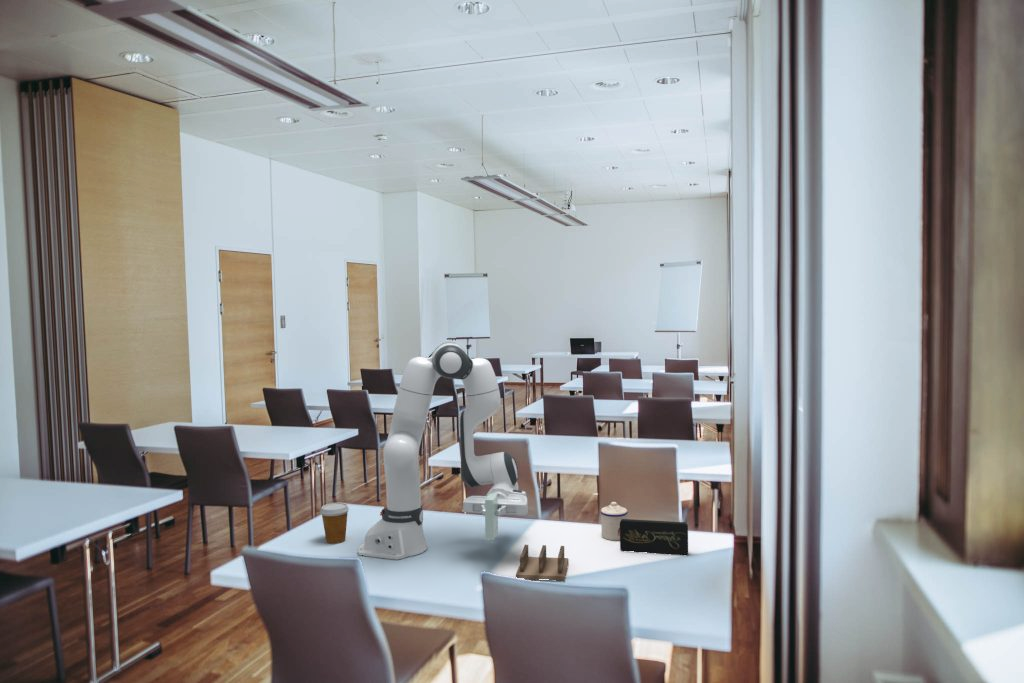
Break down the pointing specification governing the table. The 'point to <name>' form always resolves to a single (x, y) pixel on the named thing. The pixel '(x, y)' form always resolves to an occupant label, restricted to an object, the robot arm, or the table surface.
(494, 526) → the pale green rectangular block
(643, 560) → the table surface
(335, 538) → the disposable coffee cup
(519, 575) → the slot rack
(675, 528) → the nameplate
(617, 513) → the teacup with lid
